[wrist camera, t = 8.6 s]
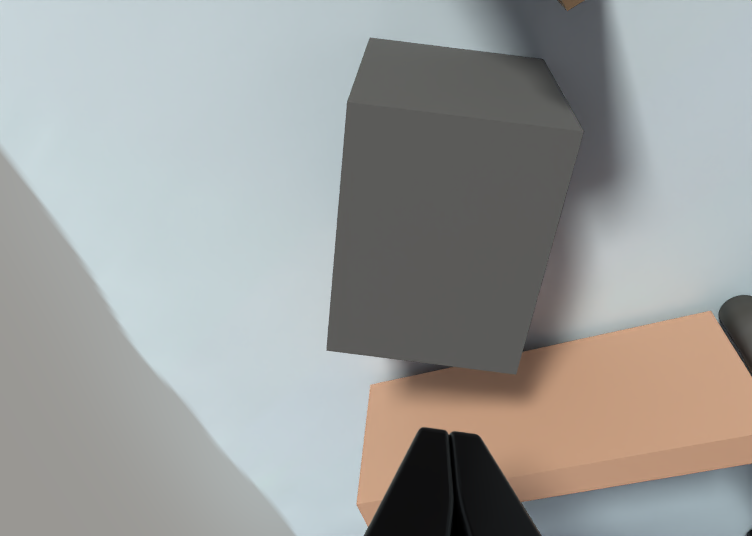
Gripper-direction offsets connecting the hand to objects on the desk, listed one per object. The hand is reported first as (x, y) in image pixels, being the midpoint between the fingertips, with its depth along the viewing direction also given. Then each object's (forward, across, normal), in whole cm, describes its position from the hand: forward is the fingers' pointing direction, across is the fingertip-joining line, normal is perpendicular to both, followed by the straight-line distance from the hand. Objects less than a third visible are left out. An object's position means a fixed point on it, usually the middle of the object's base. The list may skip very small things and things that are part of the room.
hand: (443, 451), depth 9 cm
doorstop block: (+11, 0, 0) cm, 11 cm away
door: (+11, -4, +6) cm, 13 cm away
